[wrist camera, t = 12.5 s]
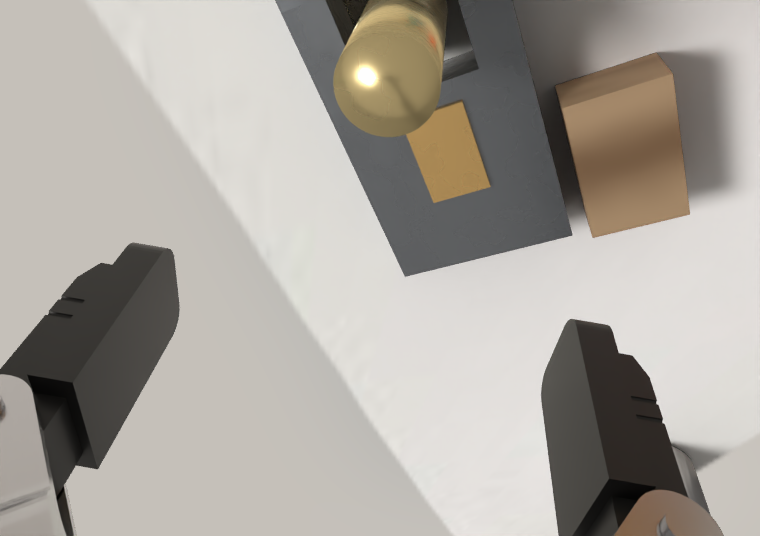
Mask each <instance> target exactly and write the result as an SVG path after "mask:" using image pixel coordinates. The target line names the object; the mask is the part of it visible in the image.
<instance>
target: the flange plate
mask: <svg viewBox="0 0 760 536" xmlns="http://www.w3.org/2000/svg"><path fill="white" fill-rule="evenodd" d="M275 1H276V3H277V5H278V7H279V10H280V12H281V14H282V16H283V18H284V20H285V22H286V24H287V27H288V29H289V31H290V33H291V35H292V37H293V39H294V41H295V44H296V46H297V48H298V50H299V52H300V54H301V56H302V58H303V61H304V63H305V65H306V67H307V69H308V71H309V73H310V75H311V78H312V80H313V82H314V84H315V86H316V88H317V90H318V92H319V95H320V97H321V99H322V101H323V103H324V105H325V107H326V110H327V112H328V114H329V116H330V118H331V120H332V122H333V124H334V127H335V129H336V131H337V133H338V135H339V137H340V139H341V141H342V144H343V146H344V148H345V150H346V152H347V154H348V156H349V158H350V161H351V163H352V165H353V167H354V169H355V171H356V173H357V175H358V178H359V180H360V182H361V184H362V186H363V188H364V190H365V192H366V195H367V197H368V199H369V201H370V203H371V205H372V207H373V209H374V212H375V214H376V216H377V218H378V220H379V222H380V224H381V227H382V229H383V231H384V233H385V235H386V237H387V239H388V241H389V244H390V246H391V248H392V250H393V252H394V254H395V256H396V258H397V261H398V263H399V265H400V267H401V269H402V271H403V273H404V275H405V277H406V276H410V275H414V274H418V273H422V272H426V271H430V270H434V269H438V268H442V267H446V266H450V265H455V264H459V263H463V262H467V261H471V260H475V259H479V258H483V257H487V256H491V255H495V254H499V253H503V252H507V251H511V250H515V249H519V248H524V247H528V246H532V245H536V244H540V243H544V242H548V241H552V240H556V239H560V238H564V237H568V236H572V231H571V227H570V223H569V219H568V215H567V211H566V207H565V203H564V199H563V196H562V192H561V188H560V184H559V180H558V176H557V172H556V168H555V164H554V161H553V157H552V153H551V149H550V145H549V141H548V137H547V133H546V130H545V126H544V122H543V118H542V114H541V110H540V106H539V102H538V99H537V95H536V91H535V87H534V83H533V79H532V75H531V71H530V68H529V64H528V60H527V56H526V52H525V48H524V44H523V40H522V37H521V33H520V29H519V25H518V21H517V17H516V13H515V9H514V6H513V2H512V0H458V2H459V5H460V8H461V12H462V15H463V18H464V22H465V25H466V28H467V31H468V35H469V38H470V41H471V44H472V48H473V51H471V52H468V53H465V54H462V55H459V56H457V57H454V58H451V59H448V60H446V61H443V70H442V81H441V91H440V97H439V101H438V104H437V106H436V109H435V111H434V112H433V114H432V116H431V117H430V118H429V119H428V121H426V122H425V123H424V124H423V125H422V126H421V127H419V128H418V129H417V130H415V131H413V132H411V133H408V134H406V135H402V136H397V137H380V136H376V135H372V134H369V133H367V132H365V131H363V130H361V129H359V128H358V127H356V126H355V125H354V124H352V123H351V122H350V121H349V120H348V119H347V118H346V116H345V115H344V114H343V112H342V111H341V109H340V107H339V105H338V103H337V100H336V98H335V93H334V87H333V77H334V71H335V68H336V64H337V62H338V60H339V58H340V56H341V54H342V52H343V50H344V48H345V46H346V44H347V42H348V40H349V38H350V36H351V34H352V32H353V30H354V26H353V23H352V21H351V18H350V16H349V14H348V11H347V9H346V6H345V4H344V1H343V0H275Z"/></svg>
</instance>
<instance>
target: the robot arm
mask: <svg viewBox="0 0 760 536" xmlns="http://www.w3.org/2000/svg"><path fill="white" fill-rule="evenodd" d="M178 317H179V297H178V288H177V279H176V270H175V261H174V255H173V252H172V251H171V249H168V248H162V247H156V246H150V245H145V244H139V243H131V244H129V245H128V246H127V247H126V248H125V250H124V251H123V252H122V253H121V255H120V256H119V257H118V258H117V260H116V261H115V262H114V264H113V265H110V264H104V263H100V264H98V265H97V266H95V267H93V268H92V269H90V270H88V271H87V272H85V273H83V274H82V275H80V276H78V277H77V278H76V279H75V280H74V282H73V283H72V284H71V285H70V286H69V288H68V289H67V290H66V291H65V292H64V294H63V295H62V298H61V300H58V301H57V302H56V303H55V304H54V306H53V307H52V308H51V309H50V310H49V314H48V315H45V316H44V318H43V319H42V320H41V321H40V322H39V324H38V325H37V326H36V327H35V328H34V329H33V331H32V332H31V333H30V334H29V335H28V337H27V338H26V339H25V340H24V341H23V343H22V344H21V345H20V346H19V347H18V349H17V350H16V351H15V352H14V353H13V355H12V356H11V357H10V358H9V359H8V360H7V362H6V363H5V364H4V365H3V367H2V368H1V369H0V536H77V535H76V530H75V525H74V521H73V516H72V511H71V507H70V501H69V497H68V492H67V488H66V485H65V483H66V481H67V479H68V478H69V476H70V474H71V473H72V471H73V469H74V468H75V466H76V465H77V466H83V467H88V468H94V469H98V468H99V466H100V464H101V463H102V461H103V459H104V457H105V455H106V454H107V452H108V450H109V448H110V447H111V445H112V443H113V441H114V440H115V438H116V436H117V434H118V432H119V431H120V429H121V427H122V425H123V423H124V421H125V420H126V418H127V416H128V415H129V413H130V411H131V409H132V407H133V406H134V404H135V402H136V400H137V398H138V397H139V395H140V393H141V391H142V389H143V388H144V386H145V384H146V382H147V381H148V379H149V377H150V375H151V373H152V372H153V370H154V368H155V366H156V365H157V363H158V361H159V359H160V357H161V355H162V354H163V352H164V350H165V349H166V347H167V345H168V343H169V341H170V340H171V338H172V336H173V334H174V332H175V329H176V326H177V322H178ZM541 400H542V408H543V416H544V424H545V432H546V440H547V447H548V455H549V463H550V471H551V479H552V486H553V494H554V502H555V510H556V518H557V525H558V533H559V536H724V535H723V533H722V531H721V529H720V527H719V526H718V524H717V523H716V521H715V520H714V519H713V518H712V517H711V515H710V512H709V509H708V506H707V503H706V500H705V497H704V494H703V492H702V489H701V486H700V483H699V480H698V477H697V474H696V471H695V468H694V465H693V463H692V462H691V460H690V458H689V457H688V456H687V455H686V454H685V453H684V452H682V451H681V450H679V449H677V448H675V447H673V446H671V443H670V439H669V436H668V433H667V430H666V427H665V424H663V423H662V420H663V418H662V415H661V412H660V409H659V406H658V405H657V404H656V401H657V399H656V396H655V393H654V390H653V387H652V384H651V381H650V378H649V376H648V375H647V374H646V372H645V371H644V370H643V369H642V367H641V366H640V365H639V364H638V362H637V361H636V360H635V358H634V357H633V356H631V355H626V354H620V353H618V349H617V346H616V342H615V339H614V335H613V332H612V329H611V327H610V326H608V325H604V324H598V323H592V322H587V321H581V320H575V319H570V320H568V322H567V323H566V325H565V327H564V329H563V331H562V333H561V336H560V338H559V340H558V343H557V345H556V347H555V349H554V352H553V354H552V356H551V359H550V361H549V363H548V365H547V368H546V370H545V373H544V377H543V382H542V390H541Z"/></svg>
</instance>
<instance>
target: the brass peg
mask: <svg viewBox="0 0 760 536" xmlns="http://www.w3.org/2000/svg"><path fill="white" fill-rule="evenodd" d="M447 13H448V10H447V3H446V0H369V1H368V3H367V5H366V7H365V9H364V11H363V13H362V15H361V16H360V18H359V20H358V22H357V24H356V26H355V28H354V30H353V32H352V34H351V36H350V38H349V40H348V42H347V44H346V46H345V48H344V50H343V52H342V54H341V56H340V58H339V60H338V62H337V64H336V68H335V71H334V77H333V87H334V93H335V98H336V100H337V103H338V105H339V107H340V109H341V111H342V112H343V114H344V115H345V116H346V118H347V119H348V120H349V121H350V122H351V123H352V124H354V125H355V126H356V127H358V128H359V129H361V130H363V131H365V132H367V133H369V134H372V135H376V136H380V137H397V136H402V135H406V134H408V133H411V132H413V131H415V130H417V129H418V128H419V127H421V126H422V125H423V124H424V123H425V122H426V121H428V119H429V118H430V117H431V116H432V114H433V112H434V111H435V109H436V106H437V104H438V101H439V97H440V91H441V81H442V70H443V59H444V48H445V37H446V26H447Z"/></svg>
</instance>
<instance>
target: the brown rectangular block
mask: <svg viewBox="0 0 760 536" xmlns="http://www.w3.org/2000/svg"><path fill="white" fill-rule="evenodd" d="M555 88H556V92H557V97H558V101H559V105H560V109H561V113H562V118H563V122H564V126H565V130H566V135H567V139H568V143H569V147H570V151H571V156H572V160H573V164H574V168H575V172H576V177H577V181H578V185H579V189H580V193H581V198H582V202H583V206H584V210H585V213H586V217H587V220H588V224H589V227H590V230H591V234H592V237H593V238H595V237H599V236H603V235H607V234H611V233H615V232H619V231H623V230H628V229H632V228H636V227H640V226H644V225H648V224H652V223H656V222H661V221H665V220H669V219H673V218H677V217H681V216H685V215H689V214H690V210H689V201H688V193H687V185H686V177H685V169H684V160H683V152H682V144H681V136H680V128H679V119H678V111H677V103H676V95H675V87H674V79H673V73H672V72H671V71H670V69H669V68H668V67H667V65H666V64H665V63H664V62H663V60H662V59H661V58H660V56H659V55H658V54H657V52H656V53H653V54H650V55H647V56H644V57H641V58H638V59H635V60H632V61H629V62H626V63H623V64H620V65H617V66H614V67H610V68H607V69H604V70H601V71H598V72H595V73H592V74H589V75H586V76H583V77H580V78H577V79H574V80H571V81H568V82H565V83H562V84H558V85H555Z"/></svg>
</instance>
